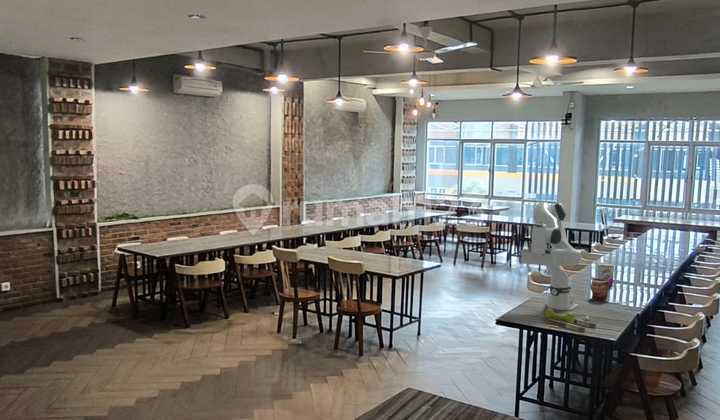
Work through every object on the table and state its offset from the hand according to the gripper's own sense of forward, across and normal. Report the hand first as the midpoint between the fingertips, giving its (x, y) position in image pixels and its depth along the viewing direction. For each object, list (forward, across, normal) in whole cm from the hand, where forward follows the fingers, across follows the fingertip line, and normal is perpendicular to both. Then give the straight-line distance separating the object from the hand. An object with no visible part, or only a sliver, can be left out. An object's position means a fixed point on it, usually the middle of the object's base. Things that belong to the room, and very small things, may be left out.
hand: (537, 272), depth 356 cm
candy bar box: (+27, +34, +114) cm, 122 cm away
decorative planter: (+28, +33, +67) cm, 79 cm away
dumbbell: (+28, +15, -6) cm, 33 cm away
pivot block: (+28, +30, -2) cm, 41 cm away
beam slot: (+28, +20, -8) cm, 36 cm away
